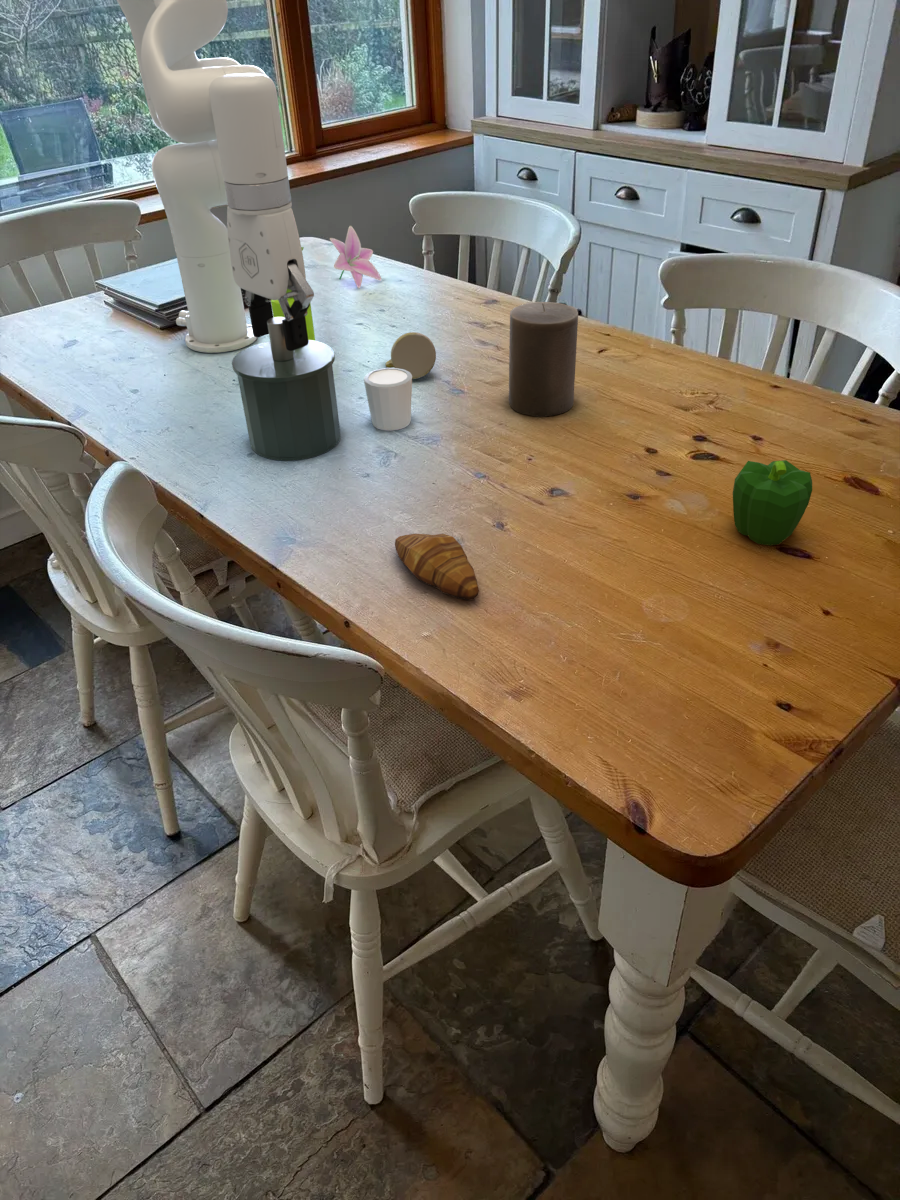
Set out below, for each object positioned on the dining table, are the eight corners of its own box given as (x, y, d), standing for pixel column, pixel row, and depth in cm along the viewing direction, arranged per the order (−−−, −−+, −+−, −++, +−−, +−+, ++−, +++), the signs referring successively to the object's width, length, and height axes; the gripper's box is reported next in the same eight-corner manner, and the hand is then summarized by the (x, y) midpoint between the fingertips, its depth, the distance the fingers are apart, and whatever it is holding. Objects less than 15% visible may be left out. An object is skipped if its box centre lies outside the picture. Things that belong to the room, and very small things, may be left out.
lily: (327, 298, 175) (343, 257, 169) (308, 261, 180) (323, 220, 174) (378, 305, 182) (396, 266, 176) (358, 269, 187) (375, 230, 181)
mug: (430, 356, 147) (442, 314, 138) (425, 402, 143) (437, 361, 134) (387, 347, 146) (396, 304, 137) (380, 393, 142) (389, 352, 133)
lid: (217, 384, 113) (208, 337, 109) (254, 345, 123) (247, 301, 120) (318, 388, 111) (312, 341, 107) (347, 348, 121) (342, 304, 117)
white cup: (421, 414, 129) (419, 369, 124) (404, 435, 124) (401, 388, 119) (378, 409, 131) (374, 364, 126) (360, 429, 125) (355, 383, 121)
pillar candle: (530, 422, 125) (533, 319, 116) (496, 398, 132) (496, 299, 123) (586, 407, 129) (593, 306, 120) (550, 384, 136) (554, 287, 127)
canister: (237, 458, 120) (221, 378, 113) (269, 417, 130) (256, 342, 123) (325, 463, 118) (314, 383, 111) (350, 422, 127) (342, 345, 121)
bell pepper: (736, 508, 105) (750, 432, 99) (806, 524, 102) (826, 447, 96) (715, 542, 100) (729, 464, 94) (789, 561, 96) (809, 481, 90)
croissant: (500, 590, 93) (500, 552, 90) (451, 616, 90) (449, 577, 87) (423, 538, 102) (421, 502, 99) (376, 560, 99) (372, 523, 96)
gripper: (192, 190, 107) (220, 333, 118) (275, 212, 97) (297, 366, 108) (243, 179, 111) (266, 318, 122) (328, 199, 101) (344, 349, 112)
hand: (280, 339), depth 115 cm, fingers open, 6 cm apart
